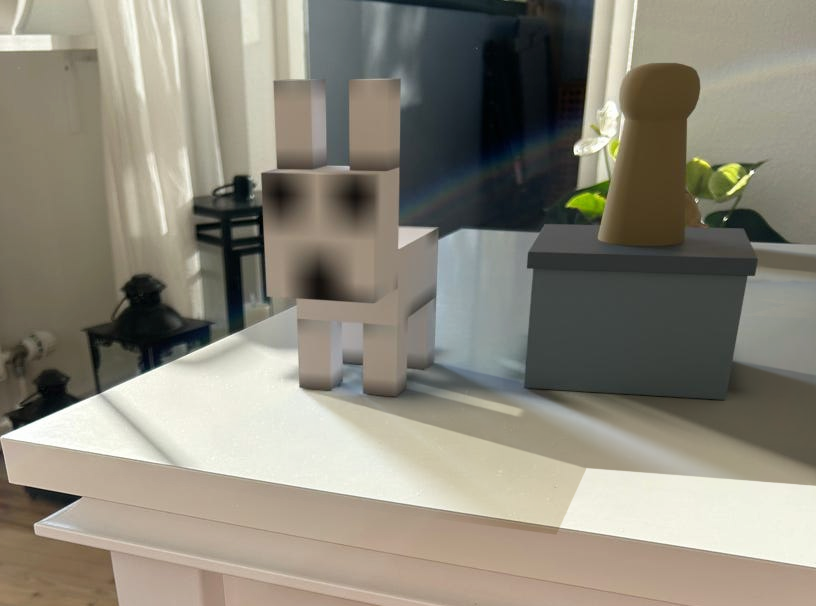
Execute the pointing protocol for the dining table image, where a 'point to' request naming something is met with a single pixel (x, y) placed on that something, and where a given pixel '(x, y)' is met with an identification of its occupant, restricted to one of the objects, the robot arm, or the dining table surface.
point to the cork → (651, 157)
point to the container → (636, 312)
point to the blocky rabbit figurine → (348, 241)
